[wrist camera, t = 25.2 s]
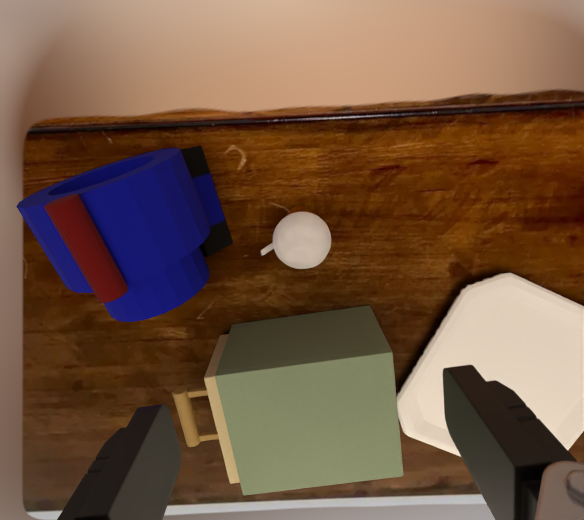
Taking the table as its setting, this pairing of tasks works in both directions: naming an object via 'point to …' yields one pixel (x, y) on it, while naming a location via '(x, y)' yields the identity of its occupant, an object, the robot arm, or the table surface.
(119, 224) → the alarm clock
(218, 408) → the drawer
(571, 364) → the plate
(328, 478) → the cabinet
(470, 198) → the table surface
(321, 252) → the milkshake
